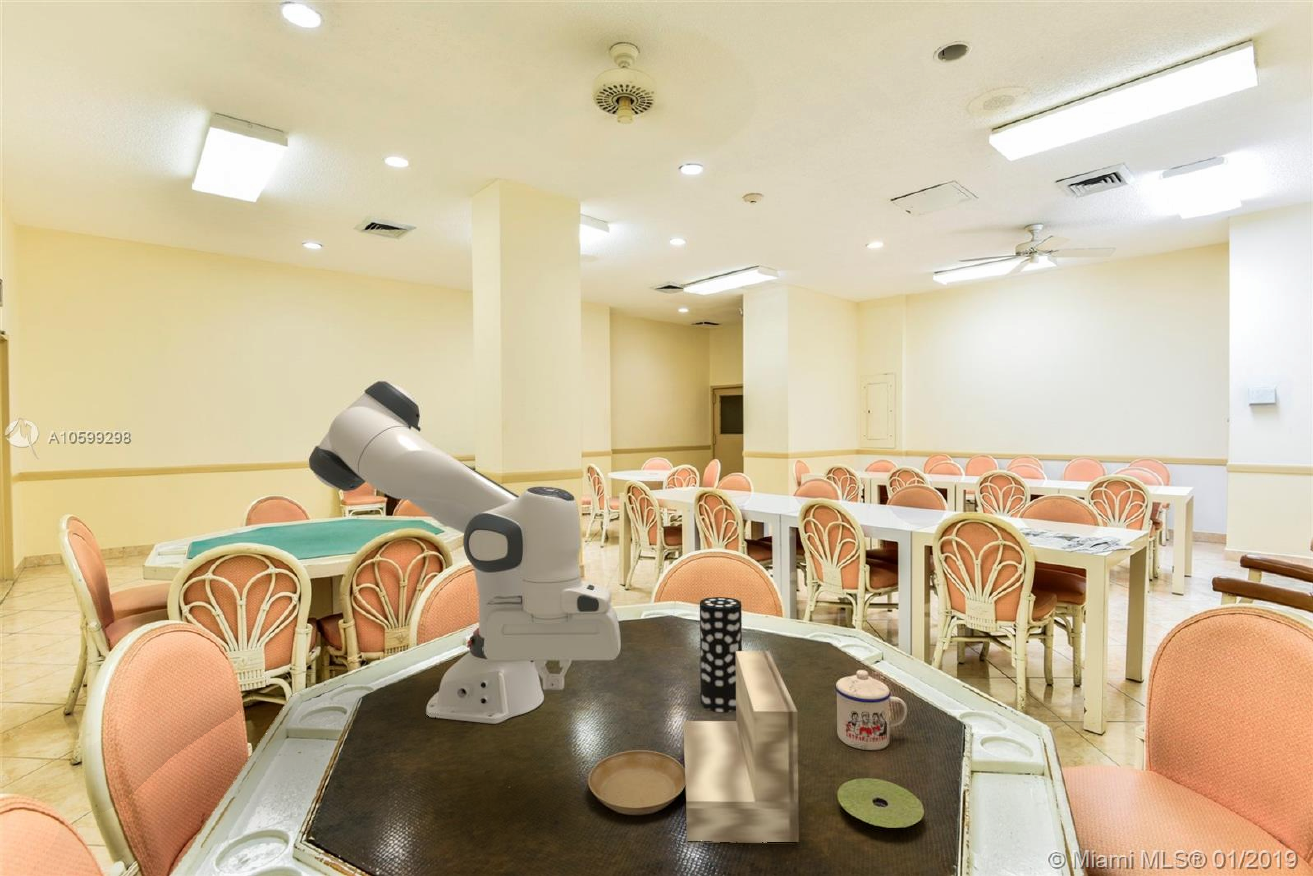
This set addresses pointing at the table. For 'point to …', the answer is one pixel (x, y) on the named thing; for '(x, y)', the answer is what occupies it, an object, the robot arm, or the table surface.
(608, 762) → the plant saucer
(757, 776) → the wooden step block
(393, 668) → the table surface
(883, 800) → the green disc with hole
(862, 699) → the teacup with lid
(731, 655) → the white-spotted black cylinder
